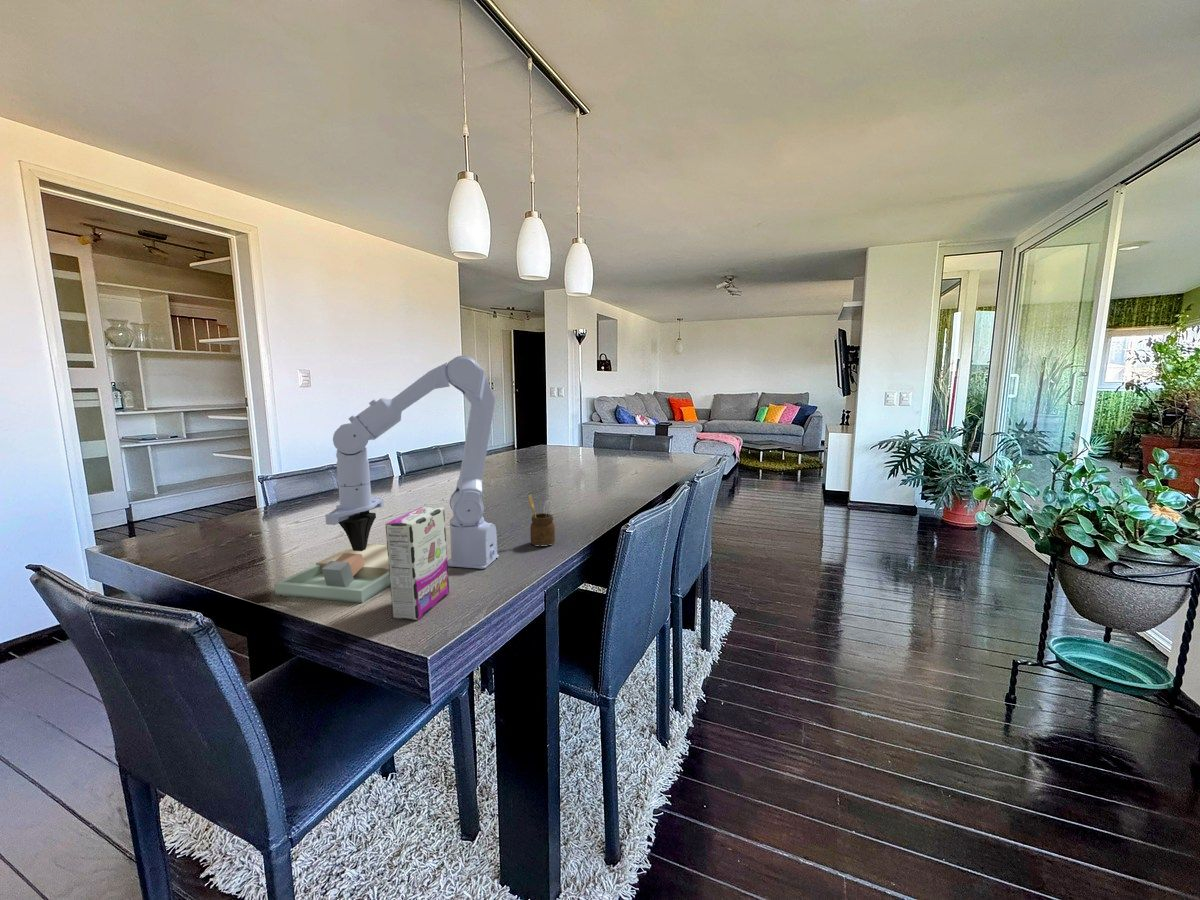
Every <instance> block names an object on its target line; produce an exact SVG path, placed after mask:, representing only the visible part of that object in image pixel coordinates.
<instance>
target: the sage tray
mask: <svg viewBox="0 0 1200 900" xmlns="http://www.w3.org/2000/svg"><path fill="white" fill-rule="evenodd" d="M353 577H354V580H353V581H352V582H351V583H350V584H349V585H348V586H347V587H338V586H327V584H326V581H325V578H324V575H323V574H322V573H321V569H320V565H316V564H314V565H311V566H310V567H307V568H305V569H303V570H301V571H299V572H296V573H294V574H292V575H291V576H288V577H286V578H284V579H282V580H281V579H280V580H279V581H277V582H275V583H274V591H275V592H274V593H275V596H280V595H282V596H281V597H293V598H301V599H302V598H305V599H314V600H316V599H317V600H326V601H337V602H347V603H356V604H357V603H358V604H359V603H360V604H363V603H364V602H366V601H367V600H370V599H371V598H373V597H374V596H376V595H377V594H378V593H380V592H382V591H383V590H385V589H387V588H388V587H390V573H389V572H387V573H385V574H384V575H382V576H380V577H379V578H372V577H359V576H353Z"/></svg>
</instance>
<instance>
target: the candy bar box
mask: <svg viewBox="0 0 1200 900" xmlns="http://www.w3.org/2000/svg"><path fill="white" fill-rule="evenodd" d="M445 514H446V513H445V507H438V506H420V507H418V508H416V509H414V510H412V511H409V512H408V513H405V514H403V515H401V516H399V517H397V518H395V519H393V520H390V521H388V522H386V523H385V533H386V534H385V535H386V545H387V550H388V562H389V573H390V586H389V587H390V597H391V599H390V600H391V613H392V618H393V619H395V620H396V619H397V620H410V621H412V620H413V621H419V620H420V619H421V618H422V617H423V615H424V616H425V615H426V614H428V612H429V611H431V609H433V608H434V607H435V606H436V605H438V603H440V602H441V601H443V599H444V598H446V597H447V595H448V594H450V581H449V566H448V564H447V561H448V551H447V535H446V533H447V532H446V519H445V516H446V515H445Z"/></svg>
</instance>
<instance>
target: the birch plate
mask: <svg viewBox="0 0 1200 900" xmlns="http://www.w3.org/2000/svg"><path fill="white" fill-rule="evenodd" d="M344 553H351V554H362V556H363V560H364V563H365V565H364V566H363V567H362V568H361V569H360V570H359V571H358V572H357V573H356V574H355V575H354V576H359V577H372V578H379V577H380V576H382V575H384V574H385V573H387V572H389V562H388V550H387V544H373V543H367V547H366V549H365V550H363V551H353V549H352V546H351V547H348V548H346V549H344V550H342V551H340V552H337V553H335V554H333V555H331V556H328V557H326V558H324V559H321V560H320V561H318V562H315V565H320V569H321V573H322V574H323V572H322V568H323V567H324V566H325V565H326V564H328V563H329V562H330V561H336V560H337V559H338V558H339V557H340V556H341V555H342V554H344Z"/></svg>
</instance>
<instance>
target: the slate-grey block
mask: <svg viewBox="0 0 1200 900" xmlns="http://www.w3.org/2000/svg"><path fill="white" fill-rule="evenodd" d="M322 572H323V575H324V578H325V581H326V584H327V586H338V587H347V586H348V585H349V584H350V583H351V582H352V581H353V580H354V577H353V574H352V571H351V567H350V564H349V562H338V561H330V562H329V563H328V564H326V565H325V566H324V567H323V568H322Z"/></svg>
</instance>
